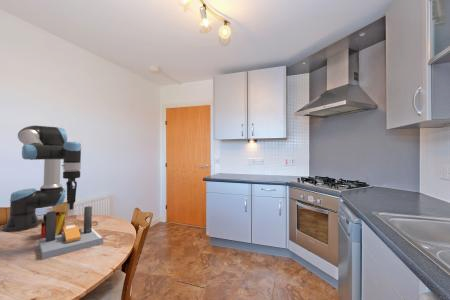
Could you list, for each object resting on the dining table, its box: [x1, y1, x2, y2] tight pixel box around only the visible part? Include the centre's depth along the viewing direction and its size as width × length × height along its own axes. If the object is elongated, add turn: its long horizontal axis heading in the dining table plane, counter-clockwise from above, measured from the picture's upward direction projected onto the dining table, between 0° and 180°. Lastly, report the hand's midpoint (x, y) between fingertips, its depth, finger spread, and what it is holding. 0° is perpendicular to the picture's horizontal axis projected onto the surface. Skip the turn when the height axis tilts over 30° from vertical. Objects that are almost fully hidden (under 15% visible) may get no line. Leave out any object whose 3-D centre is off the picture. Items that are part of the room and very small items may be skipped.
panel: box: [38, 227, 104, 260], centre depth 108 cm, size 20×24×7 cm
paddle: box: [63, 223, 81, 243], centre depth 108 cm, size 12×6×2 cm, turn 45°
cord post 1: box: [46, 210, 57, 242], centre depth 106 cm, size 4×4×14 cm
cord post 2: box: [83, 205, 93, 234], centre depth 117 cm, size 4×4×14 cm
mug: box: [40, 211, 66, 239], centre depth 118 cm, size 10×14×12 cm
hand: (70, 215), depth 111 cm, fingers closed
